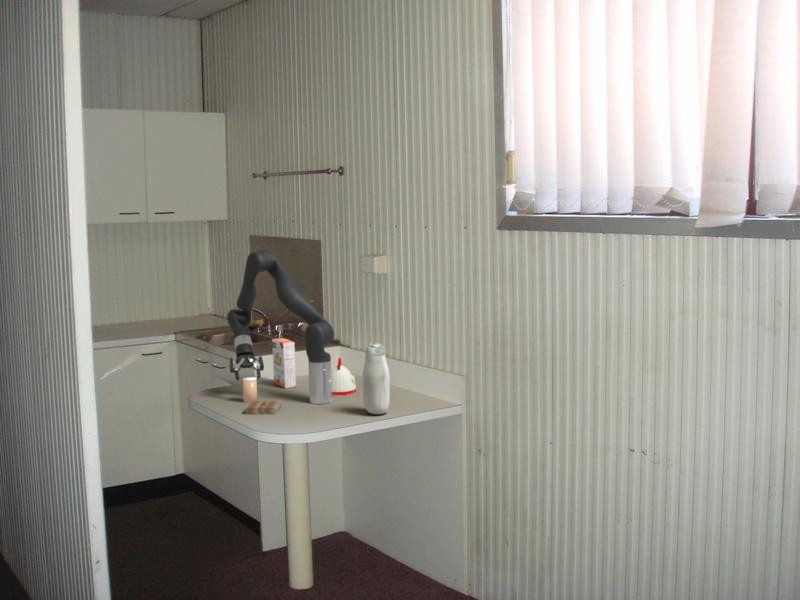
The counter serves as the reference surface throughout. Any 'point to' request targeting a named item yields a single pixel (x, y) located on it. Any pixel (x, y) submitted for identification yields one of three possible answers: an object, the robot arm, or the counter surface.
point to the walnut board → (263, 407)
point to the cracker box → (284, 363)
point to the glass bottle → (376, 380)
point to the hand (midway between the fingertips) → (248, 378)
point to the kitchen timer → (342, 380)
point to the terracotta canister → (249, 389)
